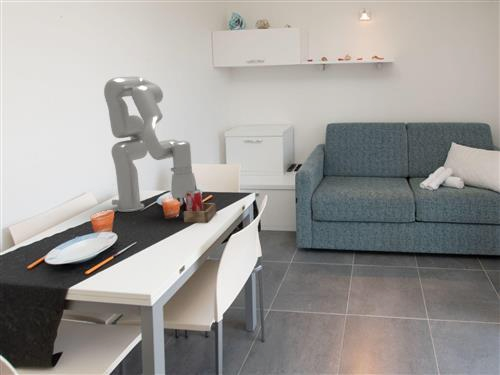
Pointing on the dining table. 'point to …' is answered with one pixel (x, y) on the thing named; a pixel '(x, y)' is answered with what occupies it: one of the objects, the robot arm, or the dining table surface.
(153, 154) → the robot arm
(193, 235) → the dining table surface
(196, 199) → the soda can
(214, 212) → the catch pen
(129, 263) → the dining table surface
